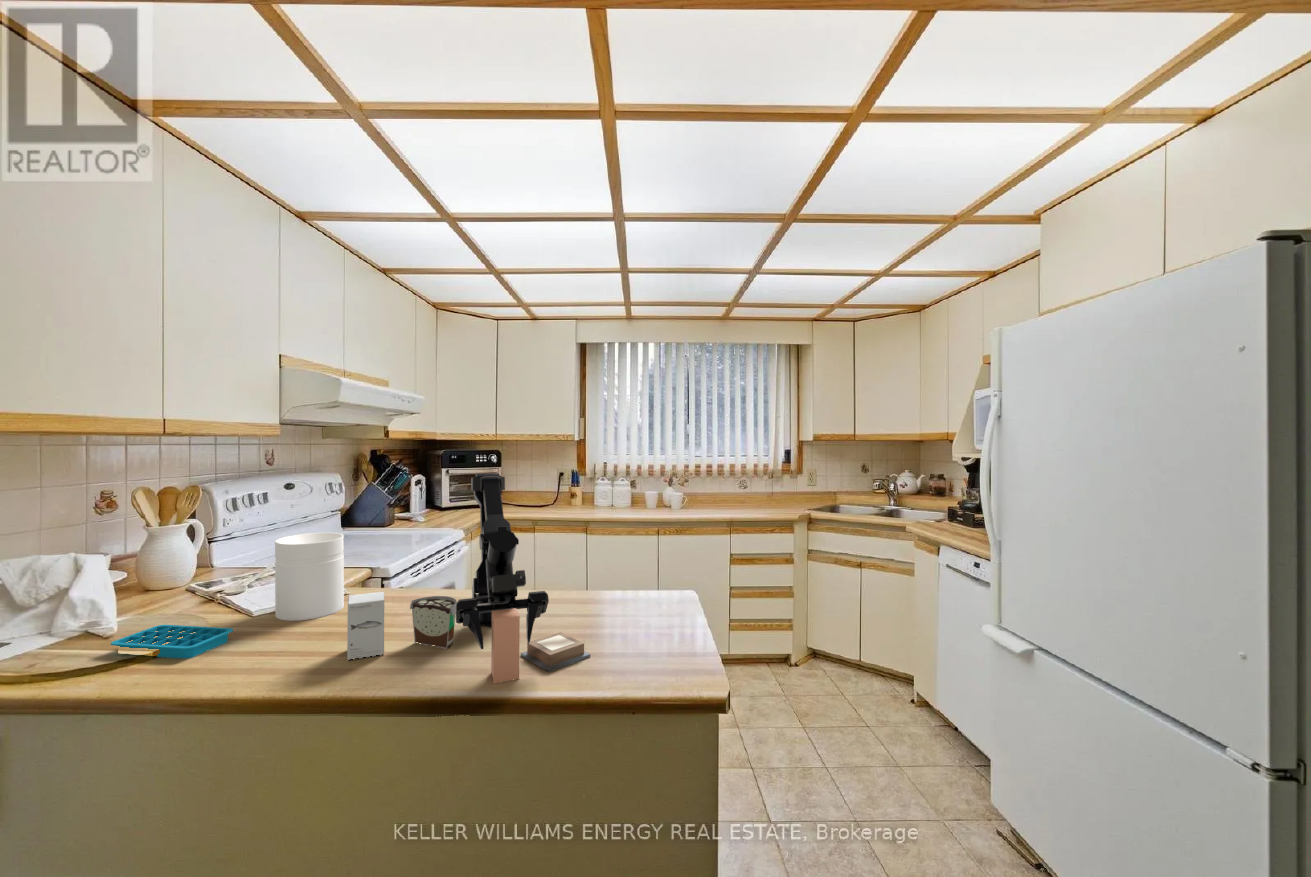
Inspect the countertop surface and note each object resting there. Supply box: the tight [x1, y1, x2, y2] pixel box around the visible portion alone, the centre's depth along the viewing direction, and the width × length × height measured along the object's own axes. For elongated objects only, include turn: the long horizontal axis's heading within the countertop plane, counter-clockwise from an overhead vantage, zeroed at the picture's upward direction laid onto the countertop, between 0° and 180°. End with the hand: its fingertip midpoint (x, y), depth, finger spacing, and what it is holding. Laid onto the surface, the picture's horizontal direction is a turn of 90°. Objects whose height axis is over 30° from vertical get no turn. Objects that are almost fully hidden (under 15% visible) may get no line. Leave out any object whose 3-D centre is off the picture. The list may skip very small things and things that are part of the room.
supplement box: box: [346, 591, 385, 661], centre depth 122 cm, size 7×7×13 cm
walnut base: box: [520, 631, 591, 673], centre depth 122 cm, size 11×11×3 cm
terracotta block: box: [490, 608, 521, 684], centre depth 112 cm, size 5×5×13 cm
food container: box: [409, 595, 458, 650], centre depth 129 cm, size 12×6×10 cm, turn 71°
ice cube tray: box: [110, 624, 234, 659], centre depth 124 cm, size 12×20×3 cm, turn 84°
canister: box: [274, 532, 345, 622], centre depth 150 cm, size 16×16×20 cm
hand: (505, 645), depth 111 cm, fingers open, 9 cm apart
